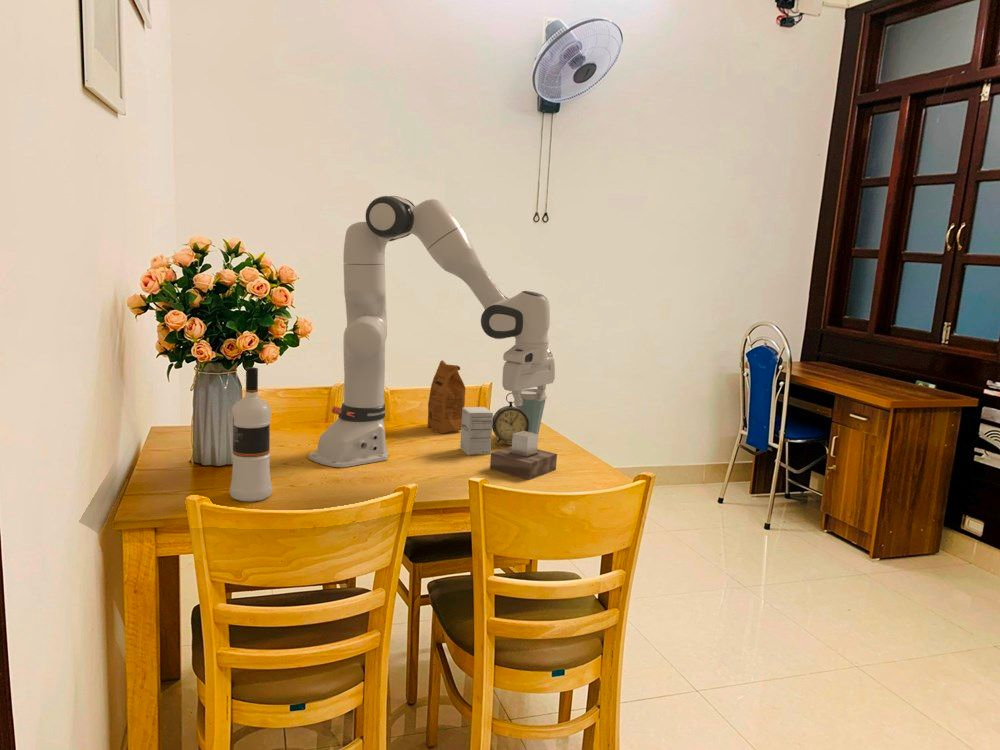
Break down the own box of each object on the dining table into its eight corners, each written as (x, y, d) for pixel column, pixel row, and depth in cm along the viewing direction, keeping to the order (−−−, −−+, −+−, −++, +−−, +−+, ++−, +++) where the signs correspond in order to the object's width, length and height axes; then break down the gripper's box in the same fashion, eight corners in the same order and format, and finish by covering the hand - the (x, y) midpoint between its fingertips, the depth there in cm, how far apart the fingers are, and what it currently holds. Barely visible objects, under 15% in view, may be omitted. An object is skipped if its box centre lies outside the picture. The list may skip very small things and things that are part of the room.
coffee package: (450, 423, 254) (453, 359, 251) (466, 432, 244) (470, 365, 240) (422, 425, 249) (425, 359, 246) (438, 435, 239) (442, 366, 235)
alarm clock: (492, 446, 229) (496, 394, 226) (489, 442, 234) (492, 390, 232) (527, 446, 232) (531, 394, 229) (523, 442, 237) (527, 391, 234)
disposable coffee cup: (515, 439, 239) (519, 393, 236) (507, 431, 249) (510, 386, 247) (548, 439, 242) (551, 393, 239) (538, 431, 252) (541, 386, 249)
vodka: (266, 503, 170) (268, 372, 165) (224, 502, 169) (224, 370, 164) (276, 490, 179) (277, 365, 174) (236, 488, 179) (236, 363, 173)
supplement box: (459, 448, 225) (461, 406, 223) (483, 447, 228) (485, 406, 225) (466, 455, 218) (469, 412, 216) (491, 454, 221) (493, 412, 219)
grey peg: (525, 473, 205) (527, 437, 203) (510, 469, 208) (512, 433, 206) (535, 469, 209) (538, 434, 207) (520, 465, 212) (523, 430, 210)
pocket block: (529, 479, 199) (530, 463, 198) (490, 468, 207) (490, 452, 206) (555, 469, 210) (557, 453, 209) (517, 459, 217) (518, 444, 216)
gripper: (542, 348, 213) (540, 396, 215) (499, 354, 196) (496, 406, 199) (561, 350, 209) (558, 399, 211) (519, 357, 193) (516, 410, 195)
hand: (528, 403), depth 205 cm, fingers open, 8 cm apart
